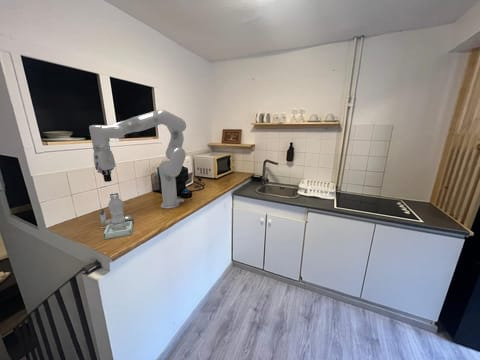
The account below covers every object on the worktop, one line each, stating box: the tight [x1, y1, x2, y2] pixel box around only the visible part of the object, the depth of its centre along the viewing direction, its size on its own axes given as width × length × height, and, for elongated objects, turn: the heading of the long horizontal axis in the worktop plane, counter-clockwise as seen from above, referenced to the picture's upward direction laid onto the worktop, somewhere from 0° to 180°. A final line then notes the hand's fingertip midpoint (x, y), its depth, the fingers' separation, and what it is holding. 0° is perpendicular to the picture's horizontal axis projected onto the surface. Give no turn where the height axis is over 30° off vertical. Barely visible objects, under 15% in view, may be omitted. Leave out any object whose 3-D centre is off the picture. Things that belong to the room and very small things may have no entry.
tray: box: [103, 221, 134, 241], centre depth 103 cm, size 12×11×3 cm
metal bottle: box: [107, 192, 126, 232], centre depth 101 cm, size 6×7×20 cm
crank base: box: [100, 217, 135, 229], centre depth 111 cm, size 16×6×2 cm, turn 114°
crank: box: [99, 209, 132, 225], centre depth 110 cm, size 14×5×8 cm, turn 115°
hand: (108, 181), depth 112 cm, fingers closed
